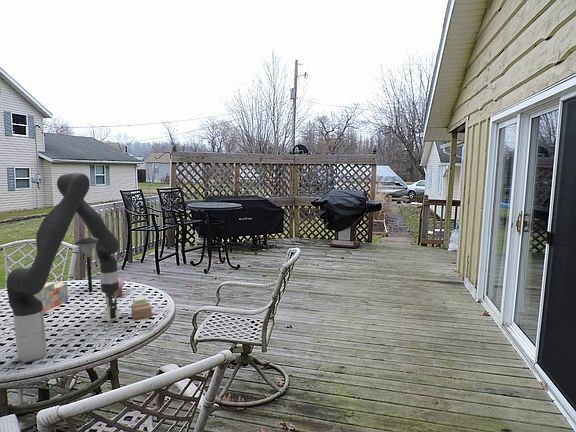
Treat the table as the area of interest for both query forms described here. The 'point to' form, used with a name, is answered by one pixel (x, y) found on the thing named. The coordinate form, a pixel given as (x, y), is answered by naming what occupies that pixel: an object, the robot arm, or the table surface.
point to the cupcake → (119, 292)
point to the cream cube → (107, 314)
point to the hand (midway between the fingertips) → (111, 316)
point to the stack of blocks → (52, 295)
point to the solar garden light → (88, 255)
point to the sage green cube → (139, 300)
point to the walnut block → (141, 311)
